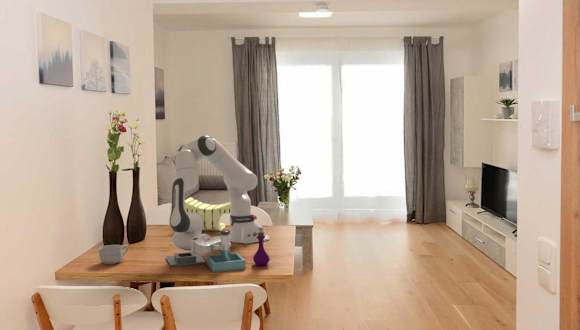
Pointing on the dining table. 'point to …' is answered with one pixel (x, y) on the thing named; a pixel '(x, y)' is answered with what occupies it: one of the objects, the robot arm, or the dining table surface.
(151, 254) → the dining table surface
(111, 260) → the teacup
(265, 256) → the perfume bottle
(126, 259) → the dining table surface
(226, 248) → the lock pin
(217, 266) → the tray
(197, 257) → the tensioner plate
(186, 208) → the slatted curved stool
